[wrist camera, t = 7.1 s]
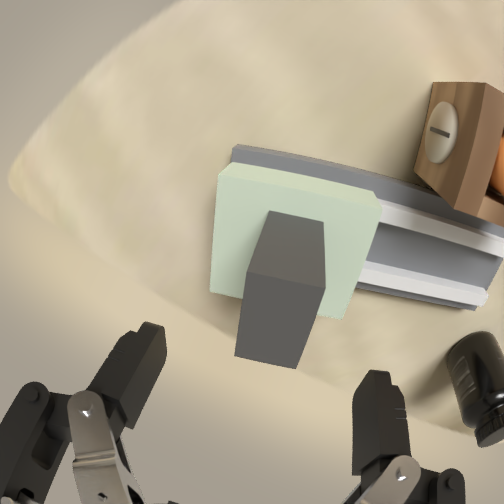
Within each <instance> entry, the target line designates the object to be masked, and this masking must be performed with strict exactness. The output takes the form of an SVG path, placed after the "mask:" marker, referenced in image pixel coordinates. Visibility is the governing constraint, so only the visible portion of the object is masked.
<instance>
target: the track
mask: <svg viewBox="0 0 504 504" xmlns="http://www.w3.org/2000/svg"><path fill="white" fill-rule="evenodd" d="M232 162H236V163H242V164H248V165H254V166H259V167H265V168H270V169H276V170H281V171H286V172H291V173H296V174H301V175H306V176H310V177H315V178H320V179H324V180H328V181H333V182H337V183H341V184H345V185H350V186H354V187H358V188H362V189H366V190H369V191H373V192H374V194H375V196H376V197H377V199H378V201H379V203H380V205H381V207H382V209H383V210H382V214H381V217H380V220H379V223H378V226H377V229H376V232H375V235H374V238H373V241H372V243H371V246H370V249H369V252H368V255H367V257H366V260H365V263H364V266H363V268H362V271H361V274H360V276H359V279H358V281H357V284H356V286H355V287H356V288H360V289H365V290H370V291H375V292H380V293H385V294H390V295H395V296H400V297H405V298H410V299H415V300H421V301H426V302H431V303H436V304H441V305H446V306H452V307H457V308H462V309H467V310H473V311H475V309H476V308H477V306H481V307H483V305H484V304H485V302H486V300H487V298H488V297H489V295H488V294H487V292H486V291H487V289H488V287H489V285H490V283H491V282H492V280H493V278H494V276H495V274H496V272H497V270H498V268H499V266H500V264H501V262H502V260H503V258H504V227H501V226H499V225H496V224H494V223H491V222H489V221H486V220H483V219H481V218H478V217H475V216H473V215H470V214H467V213H464V212H462V211H459V210H456V209H453V208H452V207H451V206H450V205H449V204H448V203H447V202H446V201H445V200H444V199H443V198H442V197H441V196H440V195H439V194H438V193H437V192H436V191H433V190H430V189H427V188H424V187H421V186H417V185H414V184H411V183H408V182H404V181H401V180H398V179H394V178H391V177H387V176H384V175H380V174H377V173H373V172H369V171H365V170H362V169H358V168H354V167H350V166H346V165H342V164H337V163H333V162H329V161H324V160H320V159H315V158H311V157H306V156H301V155H296V154H291V153H286V152H281V151H275V150H270V149H264V148H258V147H252V146H245V145H239V144H237V145H236V146H235V147H233V149H232V157H231V163H232Z"/></svg>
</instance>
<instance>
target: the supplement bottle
mask: <svg viewBox="0 0 504 504" xmlns="http://www.w3.org/2000/svg"><path fill="white" fill-rule="evenodd" d="M447 367H448V370H449V374H450V377H451V380H452V384H453V387H454V391H455V394H456V398H457V401H458V405H459V409H460V413H461V417H462V420H463V423H464V424H465V425H466V426H468V427H470V428H476V429H475V431H474V433H475V437H476V439H477V444H478V446H479V447H481V448H482V447H487V446H491V445H493V444H495V443H498V442H499V441H501V440H503V439H504V355H503V353H502V351H501V348H500V346H499V344H498V342H497V340H496V339H495V337H494V336H493V334H491V333H489V332H485V331H481V332H476V333H473V334H471V335H468V336H467V337H465V338H464V339H462V340H461V341H460V342H458V343H457V344H456V345H455V346H454V348H453V349H452V350H451V352H450V354H449V356H448V359H447Z"/></svg>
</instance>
